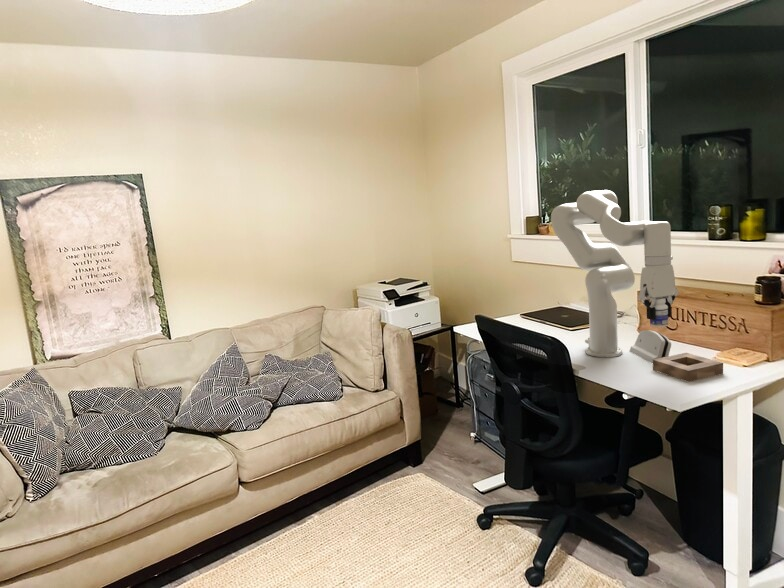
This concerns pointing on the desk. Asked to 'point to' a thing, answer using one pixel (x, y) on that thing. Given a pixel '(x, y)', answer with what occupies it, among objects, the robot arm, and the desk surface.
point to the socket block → (688, 366)
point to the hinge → (651, 345)
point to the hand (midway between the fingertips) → (659, 317)
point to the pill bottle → (660, 313)
